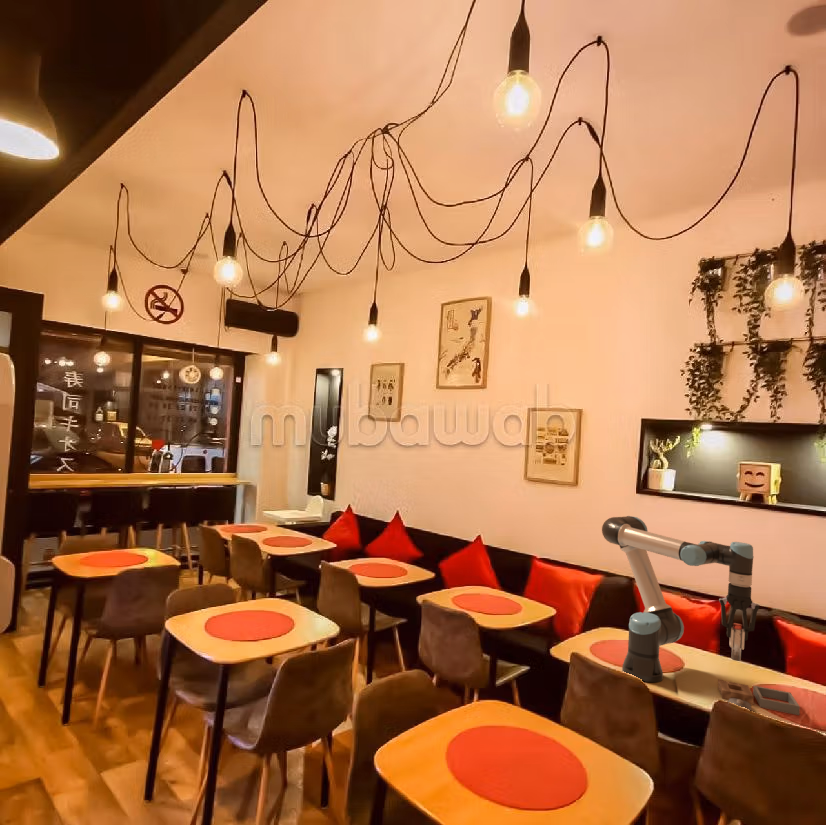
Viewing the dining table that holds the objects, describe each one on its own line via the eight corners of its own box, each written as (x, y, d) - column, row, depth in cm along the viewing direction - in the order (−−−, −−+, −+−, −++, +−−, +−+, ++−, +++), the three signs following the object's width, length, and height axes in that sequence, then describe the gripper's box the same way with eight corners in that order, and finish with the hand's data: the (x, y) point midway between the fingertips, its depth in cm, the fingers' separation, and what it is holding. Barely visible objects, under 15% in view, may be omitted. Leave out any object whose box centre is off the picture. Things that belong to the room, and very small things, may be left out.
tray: (759, 709, 202) (760, 698, 202) (753, 696, 213) (753, 685, 213) (799, 718, 198) (799, 706, 198) (790, 703, 209) (790, 692, 209)
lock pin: (732, 659, 210) (733, 624, 210) (730, 657, 213) (732, 622, 213) (741, 661, 209) (743, 626, 209) (739, 658, 212) (741, 624, 212)
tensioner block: (725, 710, 200) (725, 699, 200) (717, 690, 216) (718, 679, 217) (757, 717, 196) (758, 705, 196) (747, 696, 213) (748, 685, 213)
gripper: (717, 583, 211) (713, 646, 210) (766, 590, 205) (763, 655, 204) (714, 578, 218) (711, 639, 217) (762, 585, 212) (758, 648, 211)
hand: (736, 647), depth 211 cm, fingers closed on lock pin, 3 cm apart
